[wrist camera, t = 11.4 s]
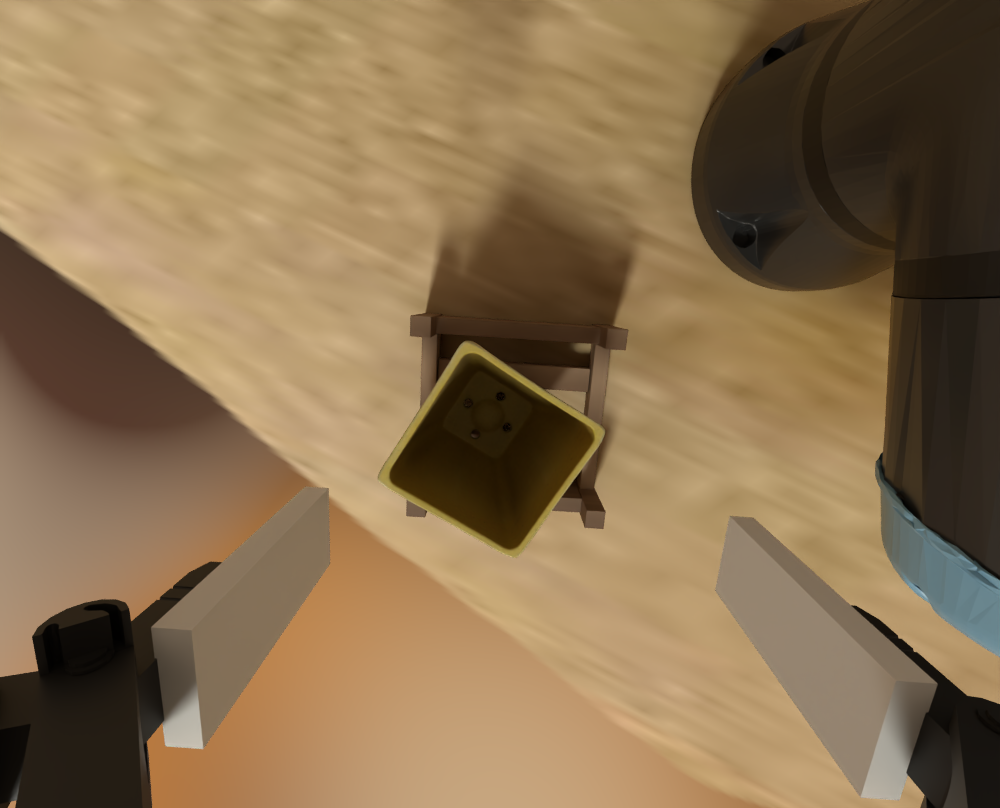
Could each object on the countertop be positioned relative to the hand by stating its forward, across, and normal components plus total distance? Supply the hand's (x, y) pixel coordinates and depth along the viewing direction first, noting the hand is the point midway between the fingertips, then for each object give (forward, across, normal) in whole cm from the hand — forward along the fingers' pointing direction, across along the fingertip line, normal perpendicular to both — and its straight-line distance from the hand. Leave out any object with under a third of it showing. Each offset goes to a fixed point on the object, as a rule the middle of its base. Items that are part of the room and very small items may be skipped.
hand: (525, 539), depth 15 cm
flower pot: (+18, -2, 0) cm, 18 cm away
